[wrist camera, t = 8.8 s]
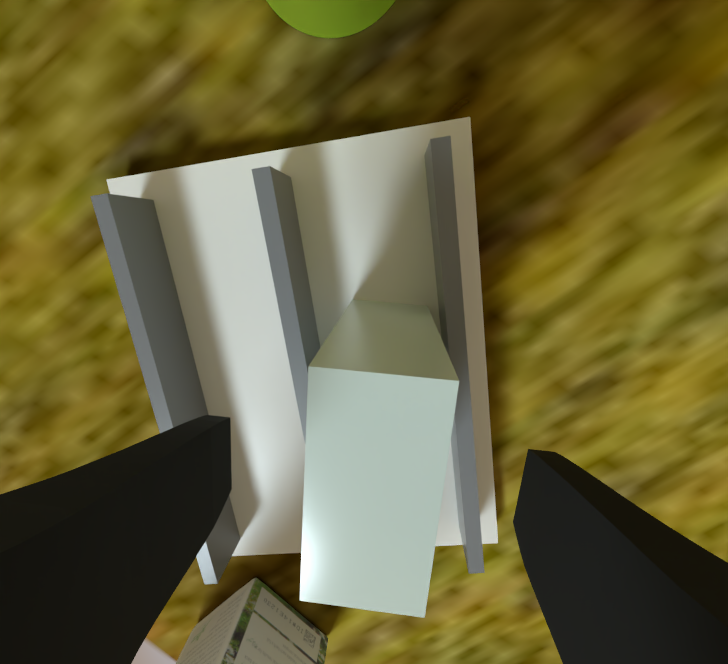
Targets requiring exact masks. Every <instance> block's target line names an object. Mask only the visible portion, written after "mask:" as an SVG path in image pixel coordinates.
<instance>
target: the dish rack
mask: <svg viewBox="0 0 728 664" xmlns="http://www.w3.org/2000/svg"><path fill="white" fill-rule="evenodd" d="M107 184H108V187H109V191H110V194H101V195H95V196H91V200H92V203H93V206H94V210H95V213H96V217H97V220H98V223H99V227H100V230H101V234H102V237H103V240H104V244H105V247H106V251H107V254H108V257H109V261H110V264H111V268H112V271H113V274H114V278H115V281H116V285H117V288H118V291H119V295H120V298H121V302H122V305H123V308H124V312H125V315H126V319H127V322H128V326H129V329H130V332H131V336H132V339H133V343H134V346H135V349H136V353H137V356H138V360H139V363H140V366H141V370H142V373H143V377H144V380H145V383H146V387H147V390H148V394H149V397H150V400H151V404H152V407H153V411H154V414H155V417H156V421H157V424H158V428H159V431H160V433H162V432H164V431H167V430H169V429H171V428H174V427H176V426H178V425H181V424H183V423H185V422H188V421H190V420H193V419H195V418H198V417H201V416H205V415H213V416H222V417H230V420H231V474H232V490H231V492H230V494H229V496H228V499H227V501H226V503H225V505H224V508H223V510H222V512H221V514H220V516H219V518H218V520H217V522H216V524H215V526H214V528H213V530H212V531H211V533H210V535H209V536H208V538H207V540H206V541H205V543H204V545H203V546H202V548H201V549H200V551H199V553H198V554H197V556H196V557H197V560H198V564H199V567H200V571H201V574H202V577H203V581H204V584H218V582H219V580H220V578H221V576H222V574H223V572H224V570H225V568H226V566H227V564H228V562H229V560H230V558H231V556H245V555H265V554H285V553H301V549H302V523H303V496H304V470H305V444H306V417H307V391H308V366H309V365H310V363H311V362H312V360H313V359H314V357H315V356H316V354H317V352H318V351H319V349H320V348H321V346H322V345H323V343H324V342H325V340H326V339H327V337H328V336H329V334H330V333H331V331H332V330H333V328H334V327H335V325H336V324H337V322H338V321H339V319H340V318H341V316H342V315H343V313H344V311H345V310H346V308H347V307H348V305H349V304H350V302H351V301H352V299H355V300H367V301H378V302H390V303H402V304H413V305H425V306H428V308H429V311H430V313H431V315H432V318H433V320H434V322H435V325H436V327H437V329H438V332H439V334H440V337H441V339H442V341H443V344H444V346H445V348H446V351H447V353H448V355H449V358H450V360H451V363H452V365H453V367H454V370H455V372H456V374H457V377H458V379H459V387H458V393H457V400H456V407H455V414H454V421H453V427H452V434H451V441H450V448H449V455H448V461H447V468H446V475H445V482H444V489H443V496H442V502H441V509H440V516H439V523H438V530H437V536H436V543H435V546H447V545H463V548H464V553H465V558H466V562H467V567H468V572H469V573H484V563H483V550H482V544H488V543H498V536H497V520H496V505H495V489H494V474H493V459H492V443H491V428H490V413H489V397H488V382H487V366H486V351H485V336H484V320H483V305H482V290H481V274H480V259H479V244H478V228H477V213H476V197H475V182H474V167H473V151H472V136H471V121H470V117H465V118H460V119H454V120H448V121H442V122H437V123H431V124H425V125H419V126H413V127H408V128H402V129H396V130H390V131H385V132H379V133H373V134H367V135H362V136H356V137H350V138H344V139H338V140H333V141H327V142H321V143H315V144H310V145H304V146H298V147H292V148H287V149H281V150H275V151H269V152H263V153H258V154H252V155H246V156H240V157H235V158H229V159H223V160H217V161H211V162H206V163H200V164H194V165H188V166H183V167H177V168H171V169H165V170H160V171H154V172H148V173H142V174H136V175H131V176H125V177H119V178H113V179H108V180H107Z"/></svg>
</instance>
